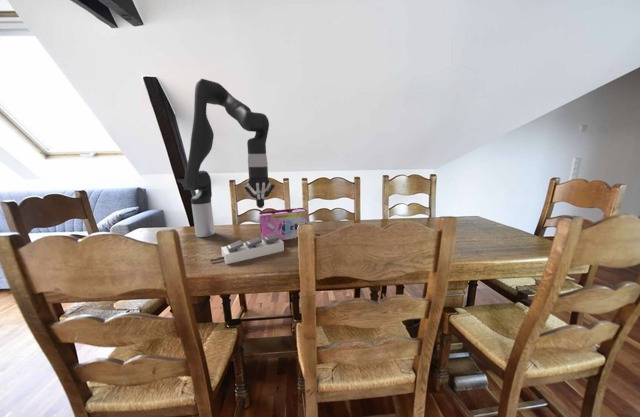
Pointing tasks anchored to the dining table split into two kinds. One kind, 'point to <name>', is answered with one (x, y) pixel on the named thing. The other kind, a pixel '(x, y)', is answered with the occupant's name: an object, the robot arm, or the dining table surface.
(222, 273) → the dining table surface
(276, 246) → the power strip
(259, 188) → the robot arm
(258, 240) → the rocker
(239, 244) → the rocker
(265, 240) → the rocker
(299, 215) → the gum box
